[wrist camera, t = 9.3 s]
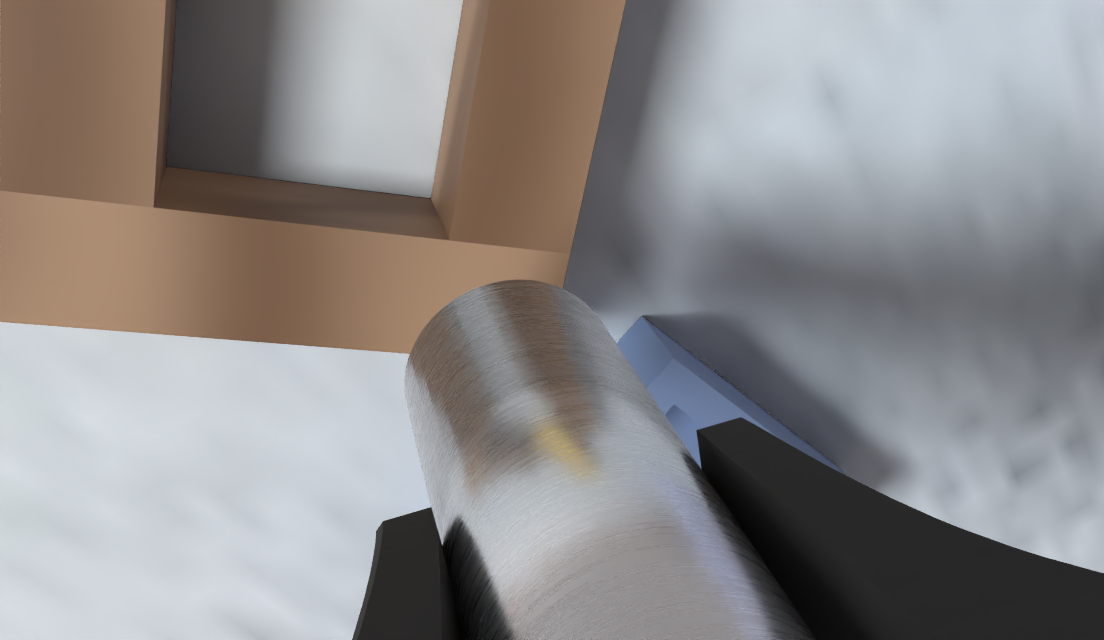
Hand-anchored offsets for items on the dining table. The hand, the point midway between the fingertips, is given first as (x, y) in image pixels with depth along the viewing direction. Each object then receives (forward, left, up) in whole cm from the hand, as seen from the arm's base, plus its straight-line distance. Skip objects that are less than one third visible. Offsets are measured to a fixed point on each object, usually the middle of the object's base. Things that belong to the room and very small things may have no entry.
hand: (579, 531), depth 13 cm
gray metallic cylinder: (0, 0, -4) cm, 4 cm away
